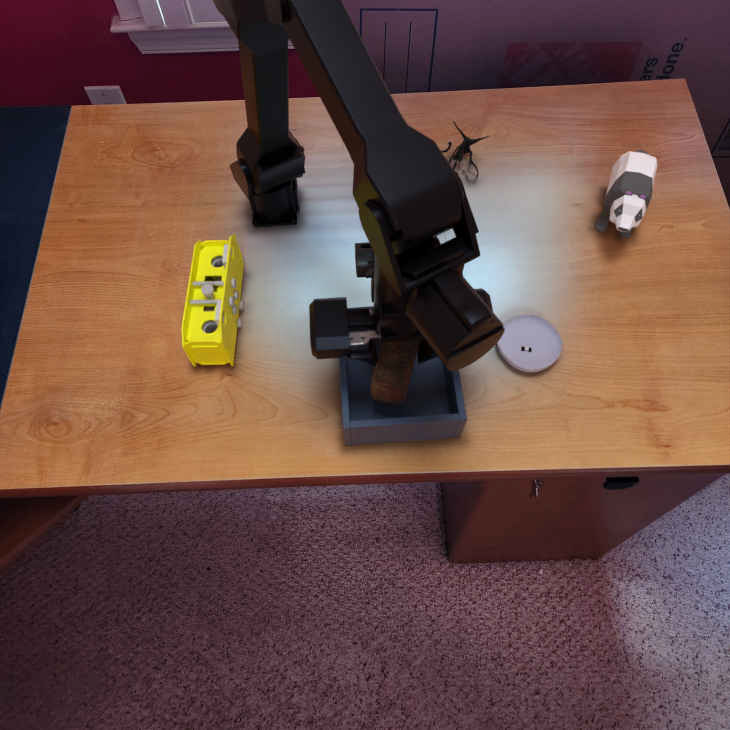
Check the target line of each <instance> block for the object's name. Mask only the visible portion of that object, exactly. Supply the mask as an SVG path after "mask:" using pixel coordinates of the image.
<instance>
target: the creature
mask: <svg viewBox="0 0 730 730" xmlns="http://www.w3.org/2000/svg"><path fill="white" fill-rule="evenodd" d="M452 122H453V124H454V126H455V128H456V130H457V131H458V132H459V133H460V135H461V137H462V139H463V140H462V142H460V144H459V145H458V146H457V145H456V148H455V149H454V150H453V153H452V155H451V156H448V157H447V159H449V158H450V159H449V160H448V163H449V164H450V165H451V164H452V163H451V162H452V161H454V163H453V165H452V166H453V167H452V169H454V170H455V171H456V169H457V163H461V162H462V161H463V159H464V156H465V155H467V154H469V158H468V159H469V165H468V168H467V170H469V169H470V168H471V165H472V166H473V167H474V168H475V170H476V173H477V174H476V176H475V178H473V180H469V177H468V175H467V173H466V169H465V170H464V169H461V172H463V173H464V174H465V177H466V180H467V181H468V182H470V183H471V182H474V181H476V180H477V179H478V177H479V173H480V172H479V169H478V166H477V164H475V163H474V161H473V150H471V146H472V145H475V144H477V143H478V142H479V141H482V140H484V139H487V138H489V137H490V135H487V136H483V137H479V138H470V136H467V135H466V134H465V133H464V132H463V131H462V129H460V128H459V127H458V125H457V123H456V122H455V120H453V121H452ZM452 143H453V142H452V141H449V142H448V143H447V145H448V146H447V148H446V149H443V150H441V152H442V153H443V154H444V153H448V152H449V151H450V150H451V148H452V145H453V144H452Z"/></svg>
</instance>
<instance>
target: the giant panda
mask: <svg viewBox="0 0 730 730" xmlns="http://www.w3.org/2000/svg"><path fill="white" fill-rule="evenodd" d="M657 171H658V159H657V157H656V156H652V155H651V154H649V153H648V152H647V151H645V150H643V149H638V150H636V151H631V150H627V152H625V153H623V154H621V155H620V156H619V157H618V159H617V160H616V161H615V163H614V164H613V166H612V169H611V172H610V177H609V181H608V184H607V187H606V190H605V192H604V194H603V204H602V208H601V211H600V213H599V215H598V217H597V220H596V222H595V225H594V230H595V231H597V232H599V233H605V231H606V230H607V228H608V225H609V222H611V223H612V224H614V225H615V228H616V230H617V231H618V236H619V237H620V238H622V239H627V240H628V239H630V237H631V235H632V233H633V230H634V229H635V228H638V227H639V225H640V223H641V222H642V220H643V218H644V217H645V215H646V212H647V210H648V207H649V205H650V203H651V200H652V197H653V191H654V183H655V178H656V174H657Z"/></svg>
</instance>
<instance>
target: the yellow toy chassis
mask: <svg viewBox="0 0 730 730" xmlns="http://www.w3.org/2000/svg"><path fill="white" fill-rule="evenodd" d="M228 239H229V240H227V239H216V240H215V239H211V240H209V239H208V240H207V239H206V240H205V241H202V240H201V239H199V240H198V241H197V242H196V243H194V245H193V253H192V258H191V266H190V271H189V277H188V283H187V290H186V296H185V303H184V308H183V316H182V320H181V327H180V328H181V344H182V345H181V347H182V349H183V351H184V353H185V354H186V356H187V358H188V359H189V361H190V363H191V364H192V367H195V368H196V366H197V364H200V365H201V366H216V365H218V366H220V365H221V366H222V365H223V366H224V365H226V364H230V367H234V364H235V363H234V362H235V353H236V344H237V336H238V335H237V334H238V328H243V319H242V318H240V317H239V315H240V311H244V310H245V303H244V300H241V296H242V287H243V278H244V269H245V261H244V258H243V255H242V252H241V248H240V245H239V243H238V238H237V236H236V233H233V234H232V235H230V236H229V238H228Z"/></svg>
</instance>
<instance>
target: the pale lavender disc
mask: <svg viewBox="0 0 730 730" xmlns="http://www.w3.org/2000/svg"><path fill="white" fill-rule="evenodd" d="M503 326H504V329H505V331H504V334H503V335H502V337H501V339H500V340H499V341H498V342H497V344H496V345H497V349H498V352H499V354H500V355H501V356H502V358H503V359H504V360H505V361H506V363H508V364H509V365H510V366H512V367H513V368H514V369H516V370H519V371H521V372H525V373H539V372H541V371H543V370H546V369H547V368H549V367H551V366H552V365H553V364H554V363H556V361H557V360H558V359H559V358H560V356H561V354H562V351H563V340H562V337H561V335H560V333H559V332H558V330H557V329H556V327H554V325H552V324H551V323H550V322H549V321H548V320H546V319H545V318H542V317H540V316H538V315H535V314H528V313H527V314H526V313H525V314H519V315H516V316H513V317H511V318H510V319H508V320H506V321H505V322H504V323H503Z"/></svg>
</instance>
